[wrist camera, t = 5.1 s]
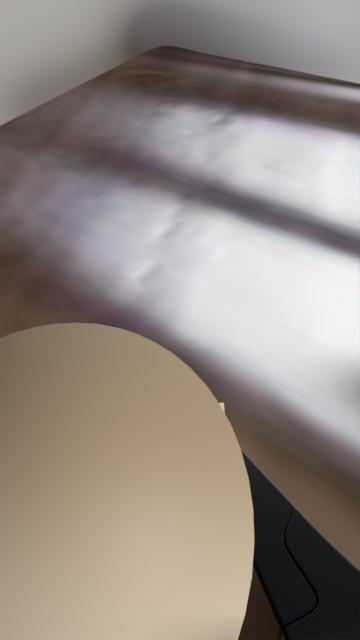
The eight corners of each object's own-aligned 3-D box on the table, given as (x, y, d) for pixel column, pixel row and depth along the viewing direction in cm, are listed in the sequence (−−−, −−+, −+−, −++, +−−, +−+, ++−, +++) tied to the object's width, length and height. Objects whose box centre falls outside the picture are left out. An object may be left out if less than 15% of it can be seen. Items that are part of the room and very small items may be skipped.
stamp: (221, 574, 12) (619, 1359, 1) (70, 574, 12) (-869, 1386, 1) (214, 419, 15) (318, 243, 4) (91, 418, 15) (-139, 239, 4)
